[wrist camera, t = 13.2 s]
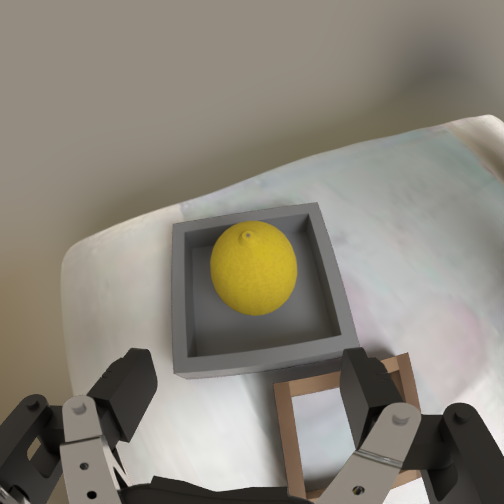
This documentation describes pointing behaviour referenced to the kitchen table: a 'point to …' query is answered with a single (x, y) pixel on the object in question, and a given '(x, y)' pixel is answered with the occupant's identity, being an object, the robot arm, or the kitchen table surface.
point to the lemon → (253, 268)
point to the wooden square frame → (284, 391)
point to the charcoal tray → (262, 326)
